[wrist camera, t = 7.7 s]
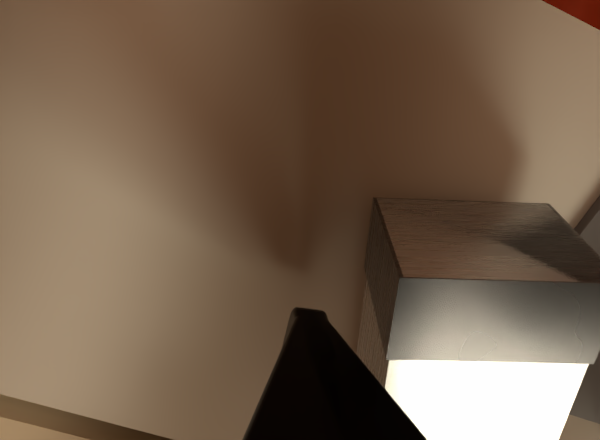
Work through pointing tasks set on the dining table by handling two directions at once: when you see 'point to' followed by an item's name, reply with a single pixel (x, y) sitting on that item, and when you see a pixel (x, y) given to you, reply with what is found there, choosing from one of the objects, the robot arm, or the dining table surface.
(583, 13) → the dining table surface
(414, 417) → the latch bar
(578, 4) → the dining table surface
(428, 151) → the wooden case with bar
